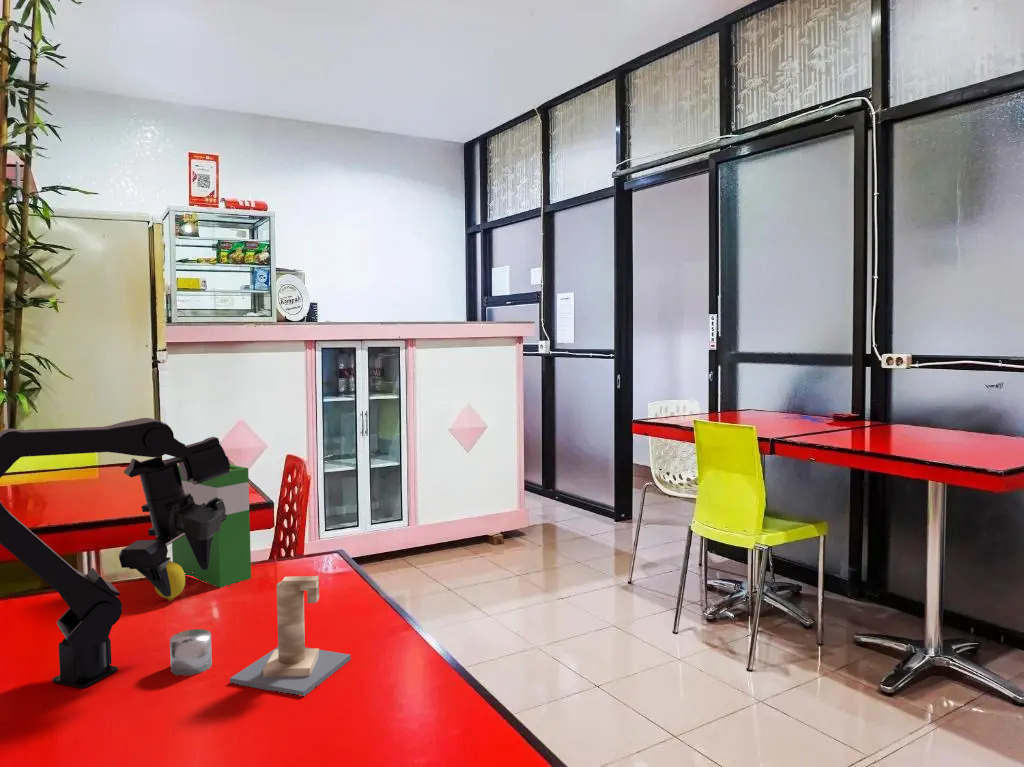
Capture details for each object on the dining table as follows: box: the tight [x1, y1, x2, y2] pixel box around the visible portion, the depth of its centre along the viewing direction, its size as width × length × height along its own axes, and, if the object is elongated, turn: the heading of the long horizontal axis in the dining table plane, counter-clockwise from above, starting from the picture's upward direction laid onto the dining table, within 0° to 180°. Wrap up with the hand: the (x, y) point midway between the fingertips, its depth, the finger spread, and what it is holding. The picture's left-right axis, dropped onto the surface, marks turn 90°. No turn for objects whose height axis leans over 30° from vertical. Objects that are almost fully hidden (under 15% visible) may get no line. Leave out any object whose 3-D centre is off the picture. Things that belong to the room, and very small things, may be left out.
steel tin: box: [169, 628, 213, 677], centre depth 118 cm, size 6×6×5 cm
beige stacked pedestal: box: [263, 575, 320, 677], centre depth 117 cm, size 8×7×14 cm
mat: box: [229, 646, 352, 697], centre depth 117 cm, size 13×13×1 cm
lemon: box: [154, 560, 186, 602], centre depth 147 cm, size 6×6×8 cm
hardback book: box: [171, 464, 252, 589], centre depth 162 cm, size 18×7×24 cm, turn 55°
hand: (187, 582), depth 124 cm, fingers open, 9 cm apart
